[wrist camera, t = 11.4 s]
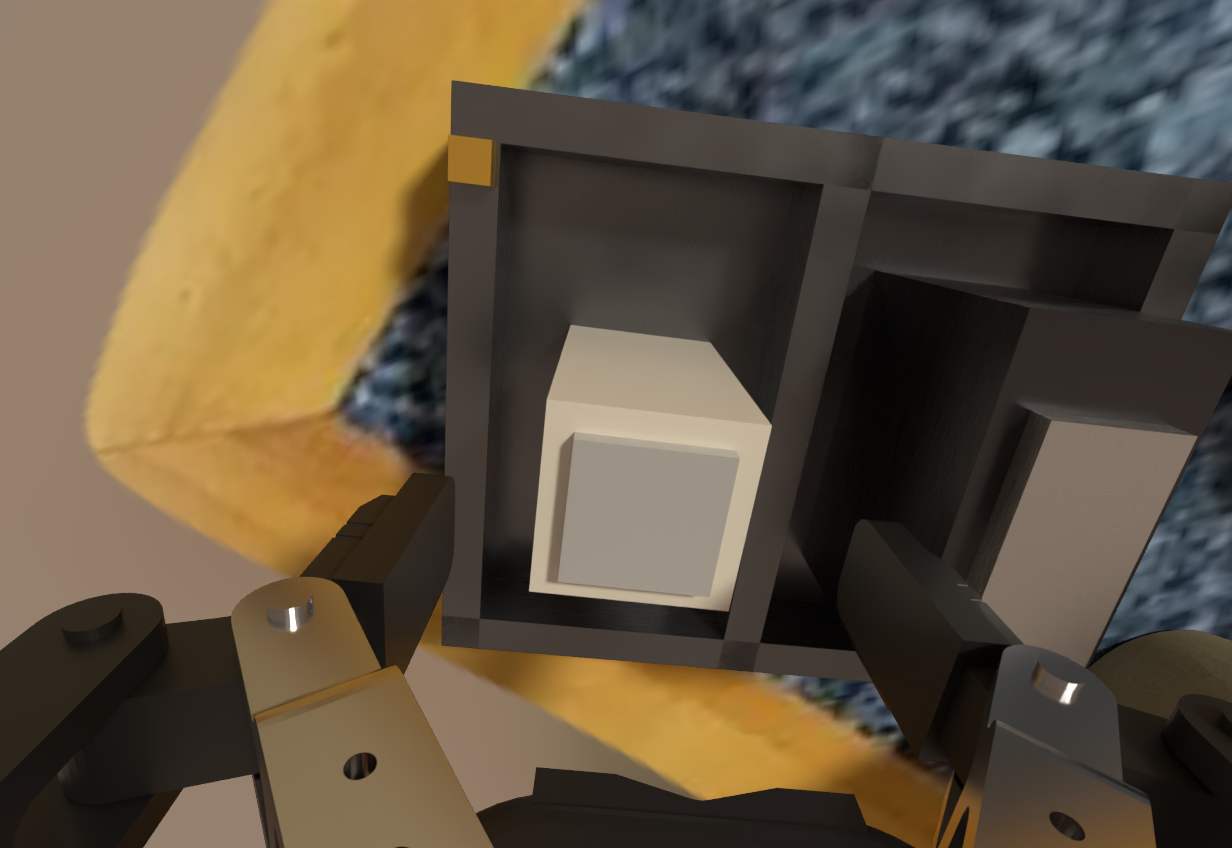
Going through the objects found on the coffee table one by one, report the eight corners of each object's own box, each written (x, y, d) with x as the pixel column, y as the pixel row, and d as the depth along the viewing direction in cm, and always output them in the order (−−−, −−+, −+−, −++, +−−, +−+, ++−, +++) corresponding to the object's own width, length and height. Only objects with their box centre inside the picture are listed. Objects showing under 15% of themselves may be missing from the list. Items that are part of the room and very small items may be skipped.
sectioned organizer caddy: (1126, 188, 18) (1542, 174, 10) (958, 626, 24) (1138, 843, 16) (481, 104, 17) (368, 13, 9) (465, 581, 23) (387, 789, 15)
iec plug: (710, 342, 19) (777, 433, 11) (686, 469, 20) (731, 623, 13) (570, 324, 18) (544, 405, 11) (557, 454, 20) (526, 602, 12)
